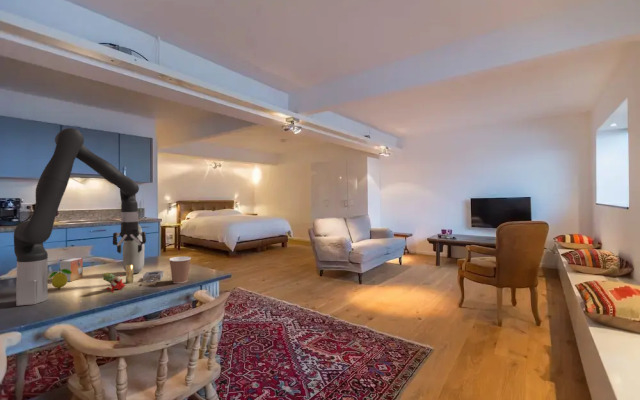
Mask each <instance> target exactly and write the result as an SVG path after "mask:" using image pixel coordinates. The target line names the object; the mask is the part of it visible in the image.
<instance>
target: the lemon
mask: <svg viewBox="0 0 640 400" xmlns="http://www.w3.org/2000/svg"><path fill="white" fill-rule="evenodd" d="M60 270H61V269H60V267H59V268H58V271H53V272H52V273H50V275H49V277H48V279H51V285H52V286H53V287H54V288H57V289H58V290H60V289H61V288H63V287H65V286H66V285H67V284H68V281H67V276H66V275H65V274H64V273H66V274H72V272H71V271H70V270H68V269H62V272H63V273H61V272H60Z"/></svg>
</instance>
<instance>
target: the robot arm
mask: <svg viewBox="0 0 640 400" xmlns="http://www.w3.org/2000/svg"><path fill="white" fill-rule="evenodd" d="M54 142H55V148H54V151H53V154H52V156H51V158H50V160H48V163H47V164H46V166H45V167H44V169H43V170H42V173H41V174H40V176H39V179H38V181H37V184H36V188H35V207H34V211H33V212H32V215H31V218H30V219H29V220H25V221H23V222H20V223H19V224H18V225H17V226H16V227H15V228H14V232H13V248H14V249H13V250H14V255H15V257H16V283H15V284H16V285H15V286H16V287H15V288H16V289H15V290H16V291H15V297H16V298H15V300H16V301H15V302H16V303H15V304H16V305H15V306H16V307H18V306H30V305H37V304H39V303H43V302H46V301H47V300H48V291H49V289H48V286H49V285H48V282H49V281H48V279H49V277H48V274H49V273H48V271H49V270H48V268H49V267H48V266H49V265H48V261H49V259H48V258H49V257H48V252H47V250H46V249H45V247H44V243H45V242H46V241H48V240H49V239H50V237H51V235H52V232H53V228H54V223H55V219H56V216H57V212H58V210H59V207H60V205H61V202H62V200H63V196H64V195H65V191H66V189H67V187H68V184H69V181H70V178H71V175H72V170H73V166H74V163H75V160H76V159H78V160H79V161H81V162H82V163H83V164H85V165H86V166H87V167H89V168H90V169H92V170H93V171H95V172H96V173H97V174H98V175H100V176H101V177H102V178H103V179H105V180H106V181H107V182H109V183H110V184H112V185H114V186H116V187H117V188H118V189H119V194H120V202H121V203H120V204H121V206H120V207H121V210H120V212H121V213H120V232H116V231H115V232H113V233H112V245H113V246H116V252H117V253H118V254H122V245H123V244H124V240H125V241H133V240H135V239H136V240H135V242H137V243H138V244H139V245H138V252H141V251H142V244H144V245H145V244H146V243H147V237H146V236H147V235H146V231H142V232H139V231H138V225H139V214H138V213H139V211H138V209H139V208H138V201H137V196H136V194H138V192H139V191H140V188H139V185H138V183H137V182H136V181H134V180H133V179H131V178H130V177H129V176H127V175H125V174H124V173H123V172H122V171H121V170H120V169H118V168H117V167H116V166H114V165H113V164H112V163H110V162H109V161H107V160H106V159H104V158H102V157H101V156H99V155H97V154H95V153H94V152H92V151H91V150H90V149H89V148H88V147H86V146H85V144H84V143H85V138H84V136H83V133H82V132H81V131H79V130H78V129H76V128H72V127H68V128H64V129H62V130H60V131H59V132H58V133H57V134H56V135H55V138H54ZM139 234H140V235H141V236H142V242H141V241H140V239H139V238H138V235H139ZM119 236H120V237H121V239H120V240H119V242H118V237H119Z"/></svg>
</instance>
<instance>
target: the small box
mask: <svg viewBox="0 0 640 400" xmlns="http://www.w3.org/2000/svg"><path fill="white" fill-rule="evenodd" d="M83 263H84V259H83V257H82V258H81V257H79V258H78V257H72V258H70V259H69V258H68V259H65V260H60V261H59V268H60V269H61V270H60V272H61V273H63V272H62V269H68V270H70V271H71V272H72V274H66V273H64V274H65V275H66V276H67V282H72V281H76V280H79V279H80V280H81V279H83V276H84V275H83V273H84V272H83V268H84V265H83Z"/></svg>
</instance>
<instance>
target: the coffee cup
mask: <svg viewBox="0 0 640 400" xmlns="http://www.w3.org/2000/svg"><path fill="white" fill-rule="evenodd" d="M191 259H192V257H191V256H174V257H170V258H169V259H168V260H169V265H170V273H171V281H172V283H173V284H182V283H183V284H184V283H186V282H188V280H189V272H190V267H191V266H190V265H191Z"/></svg>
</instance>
